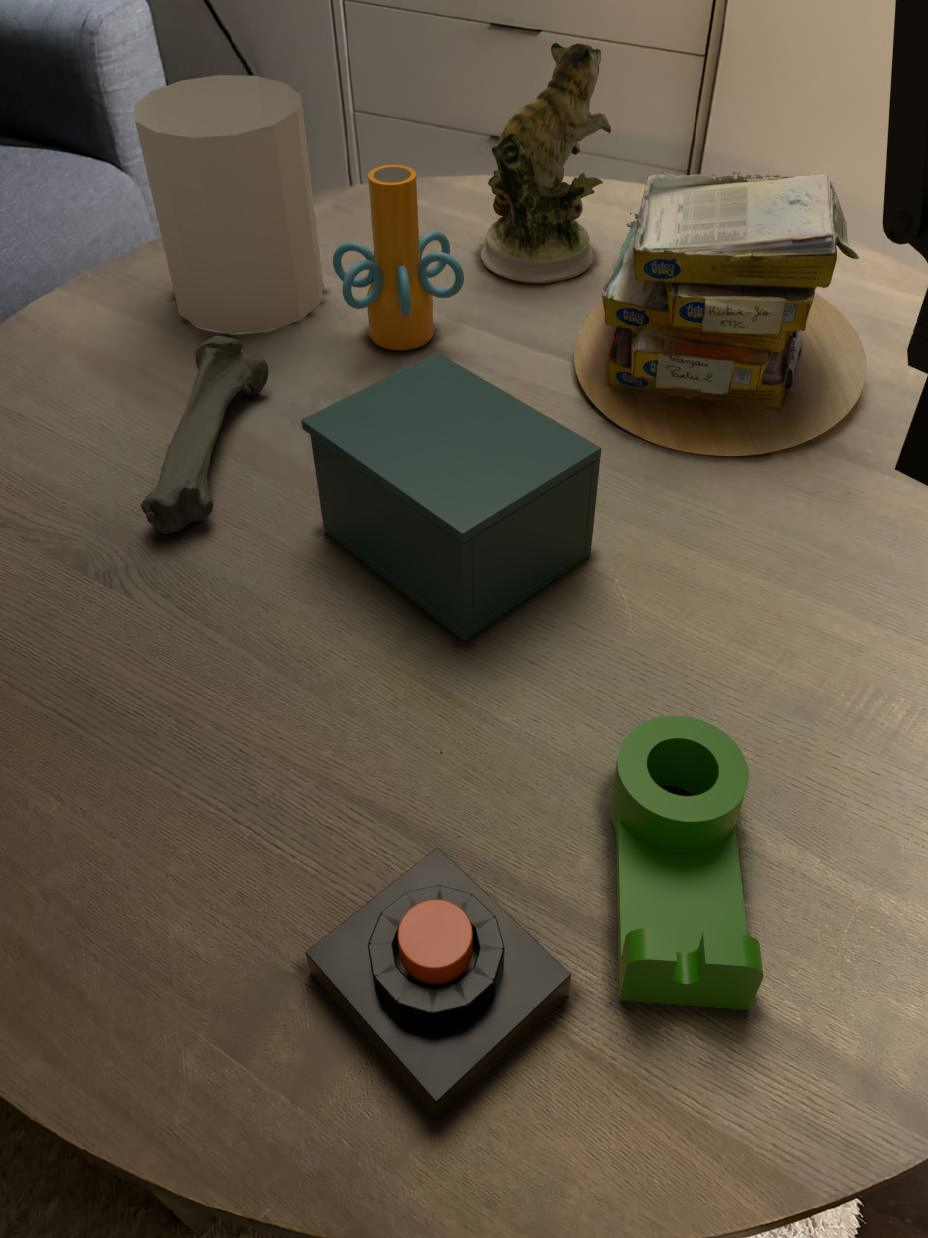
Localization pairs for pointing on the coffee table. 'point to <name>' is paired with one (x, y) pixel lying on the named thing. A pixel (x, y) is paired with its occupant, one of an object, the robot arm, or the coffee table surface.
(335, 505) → the tin
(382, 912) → the control block
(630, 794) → the green ring bracket
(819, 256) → the paper stack
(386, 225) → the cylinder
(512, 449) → the tin lid
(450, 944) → the button
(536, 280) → the figurine
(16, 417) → the coffee table surface
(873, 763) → the coffee table surface
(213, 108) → the container
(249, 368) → the bone
